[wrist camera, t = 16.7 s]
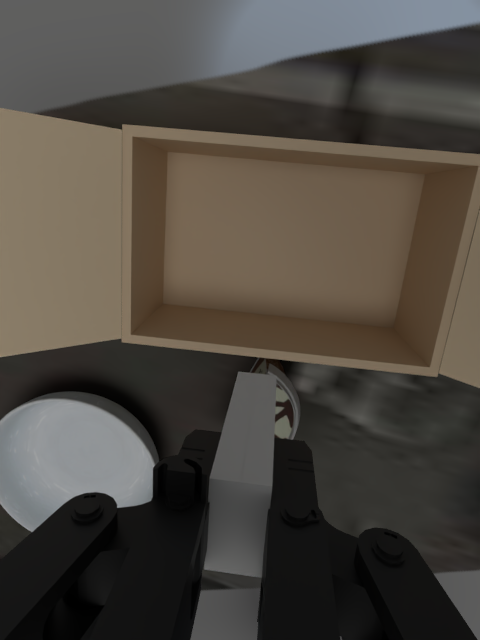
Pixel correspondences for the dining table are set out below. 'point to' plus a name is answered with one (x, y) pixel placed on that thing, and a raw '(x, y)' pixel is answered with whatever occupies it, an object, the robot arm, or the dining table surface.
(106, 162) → the flap
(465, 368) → the flap
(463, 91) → the dining table surface
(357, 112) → the dining table surface
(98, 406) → the serving bowl
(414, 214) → the carton
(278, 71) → the dining table surface
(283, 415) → the food container
